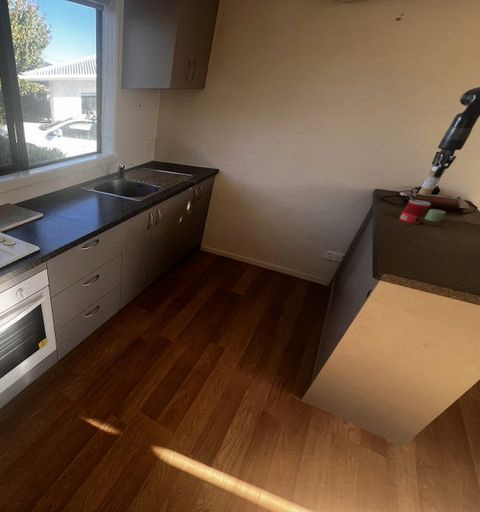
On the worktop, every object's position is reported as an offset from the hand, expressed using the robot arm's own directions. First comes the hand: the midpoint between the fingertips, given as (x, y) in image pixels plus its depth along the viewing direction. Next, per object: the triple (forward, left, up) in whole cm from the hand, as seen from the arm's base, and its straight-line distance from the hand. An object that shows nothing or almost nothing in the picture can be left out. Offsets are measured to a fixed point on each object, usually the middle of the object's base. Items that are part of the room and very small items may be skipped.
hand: (434, 175), depth 140 cm
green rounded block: (-16, 0, -24) cm, 29 cm away
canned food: (0, 0, -24) cm, 24 cm away
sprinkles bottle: (0, 0, -9) cm, 9 cm away
